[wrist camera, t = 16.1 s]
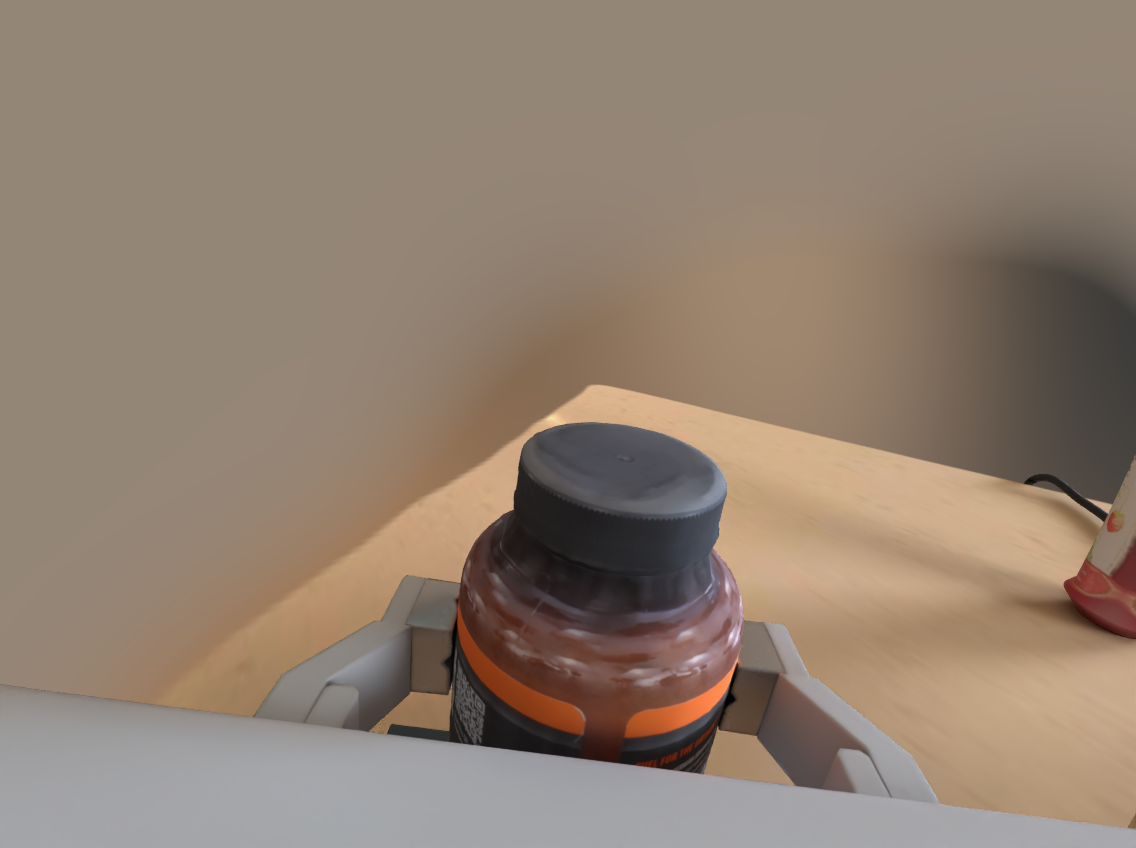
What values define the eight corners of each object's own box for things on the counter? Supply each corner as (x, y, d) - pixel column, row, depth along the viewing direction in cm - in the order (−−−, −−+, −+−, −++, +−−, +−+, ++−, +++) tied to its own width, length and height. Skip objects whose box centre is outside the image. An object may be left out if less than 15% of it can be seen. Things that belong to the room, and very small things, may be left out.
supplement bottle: (691, 804, 16) (802, 453, 12) (620, 1067, 11) (773, 606, 7) (515, 710, 18) (559, 386, 14) (386, 892, 13) (397, 463, 9)
